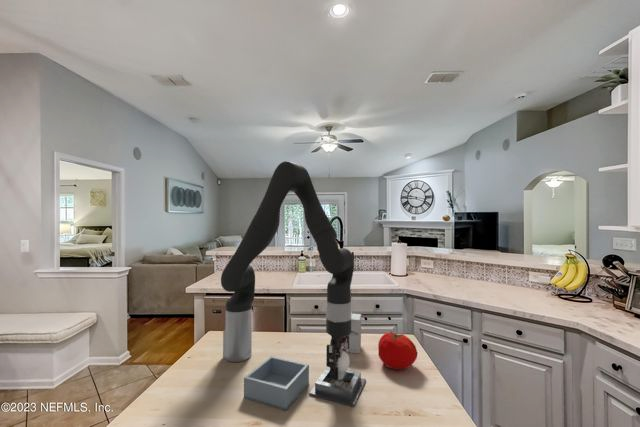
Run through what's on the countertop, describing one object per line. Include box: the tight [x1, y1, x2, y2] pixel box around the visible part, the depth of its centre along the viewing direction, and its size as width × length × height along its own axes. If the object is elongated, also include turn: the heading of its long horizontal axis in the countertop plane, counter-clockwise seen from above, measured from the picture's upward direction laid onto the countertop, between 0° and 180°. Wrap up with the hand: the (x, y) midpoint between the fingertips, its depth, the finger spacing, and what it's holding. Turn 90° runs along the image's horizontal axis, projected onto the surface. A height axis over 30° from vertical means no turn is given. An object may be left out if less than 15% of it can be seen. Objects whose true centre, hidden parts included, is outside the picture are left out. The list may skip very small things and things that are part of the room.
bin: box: [243, 356, 310, 411], centre depth 82 cm, size 14×14×6 cm
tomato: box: [377, 331, 418, 371], centre depth 96 cm, size 13×12×11 cm
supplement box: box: [348, 312, 362, 354], centre depth 108 cm, size 7×7×13 cm
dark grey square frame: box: [308, 366, 367, 408], centre depth 83 cm, size 13×13×3 cm
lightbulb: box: [332, 350, 350, 387], centre depth 83 cm, size 6×6×11 cm
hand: (338, 372), depth 83 cm, fingers open, 7 cm apart
